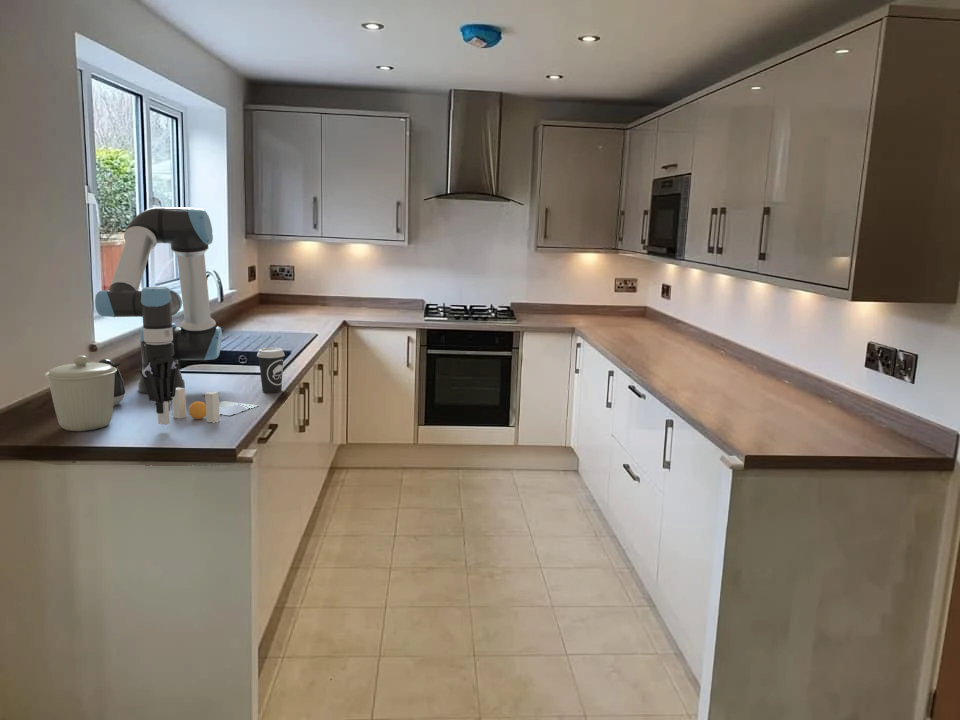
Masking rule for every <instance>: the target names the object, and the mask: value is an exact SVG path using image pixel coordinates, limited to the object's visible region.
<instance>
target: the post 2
mask: <svg viewBox="0 0 960 720" xmlns="http://www.w3.org/2000/svg"><path fill="white" fill-rule="evenodd" d="M219 397H220V396H219V392H218V391H209V392H205V397H204V398H205V404H206V416H205V417H206V423H207V422H212V423H211V424H216V423H218V422H217V421H219V422H221V421H220V419H221V417H220V416H221V415H219V402H220V401H219V400H220V399H219ZM215 422H216V423H215Z"/></svg>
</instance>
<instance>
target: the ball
mask: <svg viewBox="0 0 960 720" xmlns="http://www.w3.org/2000/svg"><path fill="white" fill-rule="evenodd" d="M188 413H189V415H190V417H191V418H192V419H194V420H201V419H204V418H206V417H207V416H206V402H203V401H201V400H200V401H194V402H192V403H191V404H190V405H189V407H188Z"/></svg>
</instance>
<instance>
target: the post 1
mask: <svg viewBox="0 0 960 720" xmlns="http://www.w3.org/2000/svg"><path fill="white" fill-rule="evenodd" d="M172 398H173V400H172V401H171V402H172V416H173V418H174V419H183V418H186V417H187V404H186V403H187V402H186V387H185V388H179V387H177V388H176V392H175V396H174V397H172Z"/></svg>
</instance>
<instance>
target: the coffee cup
mask: <svg viewBox="0 0 960 720" xmlns="http://www.w3.org/2000/svg"><path fill="white" fill-rule="evenodd" d="M285 354H286V353H285V352H284V350H283V349H282V348H280V347H265V348H260V349H258V352H257V354H256V357H258V363H259V364H258V365H259V372H260V374H259V375H260V382H261V390H262V392H263V393H265V392H266V394H276V393H280V392H282V388H283V387H282V385H283V369H284V357H285V356H286V355H285Z"/></svg>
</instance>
